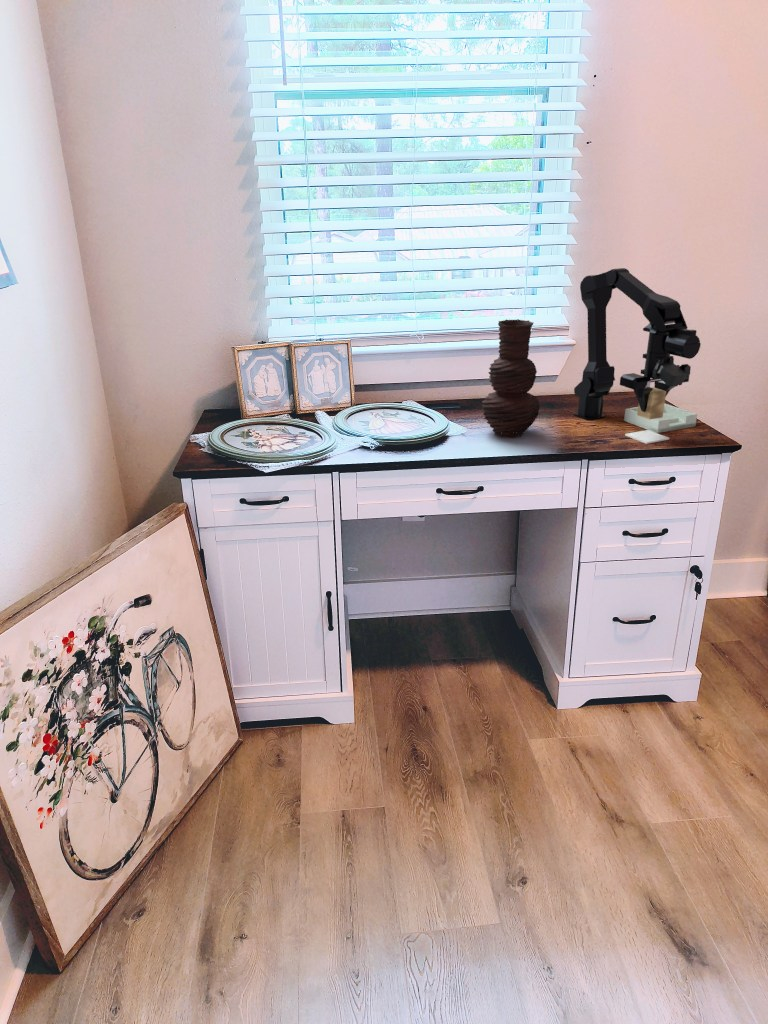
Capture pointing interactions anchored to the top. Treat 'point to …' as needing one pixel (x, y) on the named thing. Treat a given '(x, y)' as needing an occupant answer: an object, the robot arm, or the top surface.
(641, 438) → the pad
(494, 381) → the vase
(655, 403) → the oak block
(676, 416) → the pale green shallow tray
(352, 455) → the top surface
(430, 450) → the top surface
